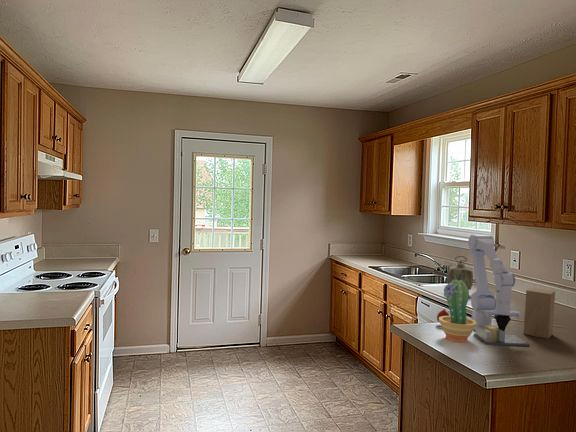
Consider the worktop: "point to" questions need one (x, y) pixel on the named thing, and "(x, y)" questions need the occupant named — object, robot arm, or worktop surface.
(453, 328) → the potted cactus
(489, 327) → the brass block
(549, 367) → the worktop surface
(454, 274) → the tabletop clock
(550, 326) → the wooden block
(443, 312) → the pomegranate
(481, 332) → the vise
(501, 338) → the block
